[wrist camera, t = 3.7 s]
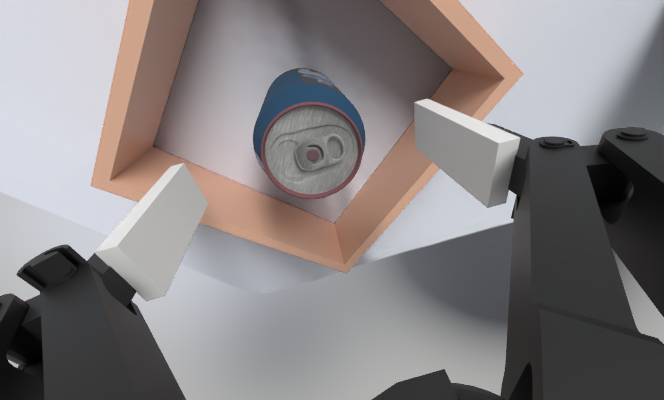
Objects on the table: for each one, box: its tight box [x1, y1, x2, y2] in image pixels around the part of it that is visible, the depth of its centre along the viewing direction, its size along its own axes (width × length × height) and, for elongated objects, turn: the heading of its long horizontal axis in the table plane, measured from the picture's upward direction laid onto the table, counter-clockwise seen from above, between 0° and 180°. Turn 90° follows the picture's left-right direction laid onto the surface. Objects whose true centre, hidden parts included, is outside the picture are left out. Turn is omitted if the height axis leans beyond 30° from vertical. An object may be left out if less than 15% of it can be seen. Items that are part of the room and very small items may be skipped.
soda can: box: [253, 68, 365, 199], centre depth 19 cm, size 7×7×12 cm
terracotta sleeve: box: [91, 0, 523, 273], centre depth 21 cm, size 23×23×7 cm
